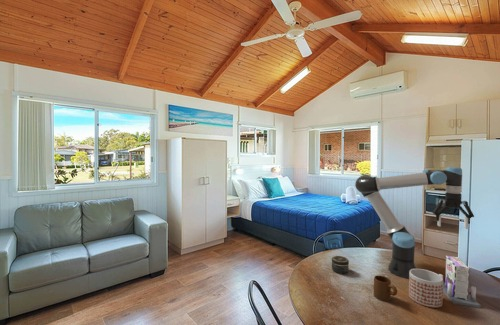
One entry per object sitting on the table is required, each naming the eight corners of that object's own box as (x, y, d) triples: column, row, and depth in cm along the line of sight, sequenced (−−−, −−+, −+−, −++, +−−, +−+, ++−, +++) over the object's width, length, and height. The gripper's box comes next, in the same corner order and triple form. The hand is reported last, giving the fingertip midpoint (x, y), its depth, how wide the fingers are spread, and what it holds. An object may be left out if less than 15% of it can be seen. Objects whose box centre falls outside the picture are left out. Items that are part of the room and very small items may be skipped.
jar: (351, 272, 150) (352, 259, 150) (341, 276, 144) (342, 263, 144) (338, 265, 158) (338, 254, 158) (328, 269, 153) (328, 257, 152)
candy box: (444, 284, 134) (445, 255, 134) (457, 286, 132) (459, 256, 131) (453, 297, 122) (454, 265, 121) (468, 300, 119) (469, 267, 119)
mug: (402, 305, 117) (402, 285, 117) (390, 308, 115) (391, 288, 114) (381, 291, 128) (381, 274, 128) (370, 294, 126) (370, 276, 126)
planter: (402, 291, 129) (403, 268, 128) (429, 292, 128) (430, 268, 128) (420, 307, 115) (421, 281, 115) (449, 308, 115) (450, 282, 114)
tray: (452, 303, 119) (452, 289, 119) (434, 282, 138) (434, 270, 138) (481, 308, 115) (482, 293, 115) (459, 286, 135) (459, 273, 134)
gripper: (431, 192, 148) (430, 226, 149) (482, 194, 140) (481, 231, 141) (426, 190, 155) (425, 223, 156) (475, 192, 147) (473, 227, 148)
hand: (452, 227), depth 148 cm, fingers open, 13 cm apart
